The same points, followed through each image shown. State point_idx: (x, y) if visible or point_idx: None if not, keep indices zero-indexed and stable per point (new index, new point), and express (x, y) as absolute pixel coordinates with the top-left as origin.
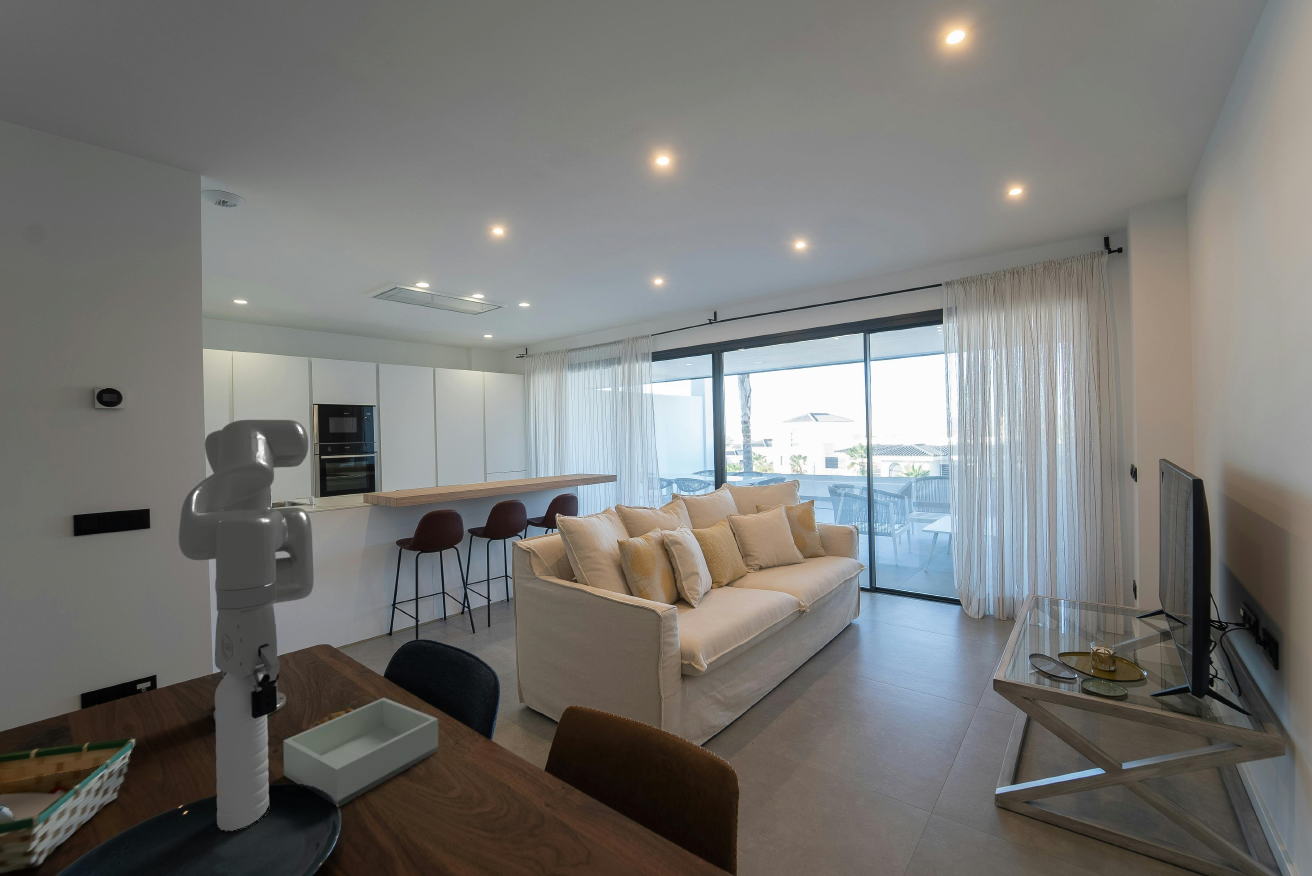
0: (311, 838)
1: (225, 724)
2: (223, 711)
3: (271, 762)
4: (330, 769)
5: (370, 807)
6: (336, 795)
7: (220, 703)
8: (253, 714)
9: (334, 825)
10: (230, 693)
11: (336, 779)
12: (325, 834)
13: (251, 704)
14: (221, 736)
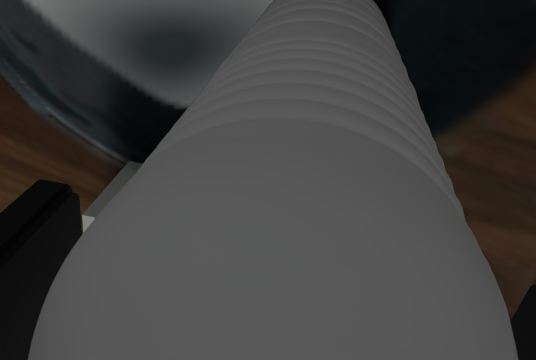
0: (65, 55)
1: (235, 86)
2: (226, 121)
3: (500, 245)
4: None
5: None
6: (121, 176)
7: (237, 147)
8: (27, 192)
9: (68, 110)
10: (97, 254)
11: (99, 198)
12: (52, 79)
13: (5, 239)
14: (282, 52)
